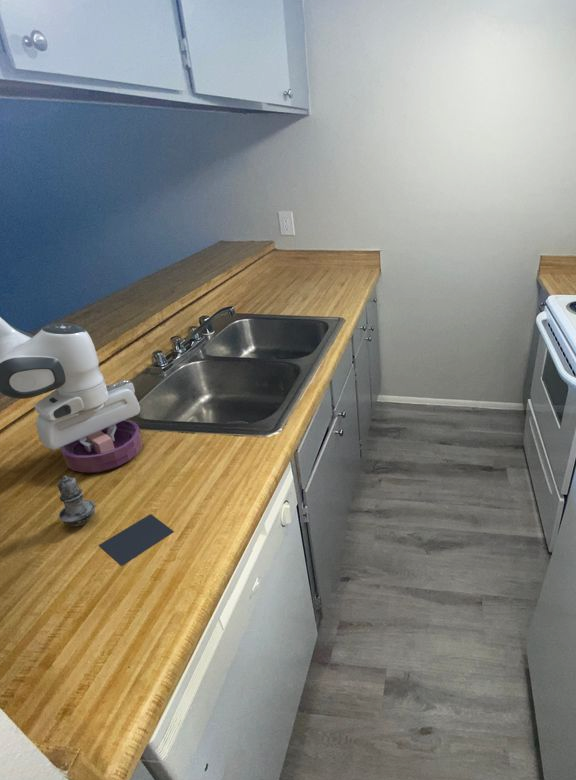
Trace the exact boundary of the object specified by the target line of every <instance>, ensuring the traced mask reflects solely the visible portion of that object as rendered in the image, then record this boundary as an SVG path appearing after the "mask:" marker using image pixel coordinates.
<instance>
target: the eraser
mask: <svg viewBox="0 0 576 780" xmlns="http://www.w3.org/2000/svg"><path fill="white" fill-rule="evenodd" d="M86 438H87V442H89V441H91V442H92V443H94V446H95V450H94V451H95V452H97V453H98V454H101V453H104V452H108V451H111V450H114V449H115V448H114V444H113V441H112V438H110V437H109V436H107V435H106V434H104V433H103V432H101V431H98V432H95V433H93V434H91V435H88V436H86Z"/></svg>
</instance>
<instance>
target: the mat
mask: <svg viewBox="0 0 576 780" xmlns="http://www.w3.org/2000/svg"><path fill="white" fill-rule="evenodd" d="M173 533H175V531H174V530H173V529H172V528H171V527H169V526H168V525H166V524H165V523H163V521H161V520H159V518H157V517H156V516H154V515H153V514H152V513H150V514H148V515H146V516H145V517H143V518H141V519H139V520H138V521H136V522H135V523H133V524H131V525H130V526H128V527H126V528H124V529H123V530H121V531H119V532H118V533H115V535H113V536H112V537H109V538H108V539H107V540H105V541H103V542H101V543H100V544H98V547H99V548H100V549H101V550H102V551H104V552H105V553H106V554H107V555H108V556H109V557H110V558H112V559H113V560H114V561H115V562H116V563H117V564H118V565H119V566H120V567H123V566H124V565H127V564H128V563H130V562H131V561H133V560H134V559H135V558H137V557H138V556H141V554H143V553H144V552H146V551H147V550H149V549H151V548H152V547H153V546H155V545H157V544H158V543H159V542H161V541H163V540H165V539H166V538H167V537H169V536H171V535H172V534H173Z"/></svg>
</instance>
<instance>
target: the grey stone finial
mask: <svg viewBox="0 0 576 780" xmlns="http://www.w3.org/2000/svg"><path fill="white" fill-rule="evenodd" d="M57 488H58V491H59V494H60V496H59V500H60V501H61V502H63V505H64V507H63V508H62V509H61V510H60V511H59V513H58V519H59V520H60V521H61V522H63V523H64V524H65V525H67V526H69V527H83V526H85V525H86V524H88V522H89V521H90V520H92V519H93V517H94V515H95V510H96V503H95V501H93V500H91V499H84V497H83V494H84V491H83V489H82V488H80V487H79V484H78V481H77V479H76V478H75V477H73V476H67V475H65V474H64V475H62V478H61V479H60V480H59V481H58V483H57Z"/></svg>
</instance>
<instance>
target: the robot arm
mask: <svg viewBox="0 0 576 780" xmlns="http://www.w3.org/2000/svg"><path fill="white" fill-rule="evenodd" d="M99 365H100V360H99V356H98V353H97V350H96V346H95V344H94V342H93V340H92V337H91V335H90V334H89V332H88V331H87V330H86V329H85V328H83V327H81V326H80V325H78V324H73V323H65V322H60V323H59V322H57V323H51V324H47V325H44V326H43V327H41V329H40V330H39V331H38V332H37V333H36V334H35V335H34V334H31V333H29V332H27V331H25V330H21V329H20V328H17V327H15V326H13V325H12V324H10V323H9V322H8V321H7V320H5V318H3V317H2V316H1V315H0V394H2V395H3V396H6V397H8V398H12V399H17V400H26V399H31V398H35V397H38V396H41V395H44V394H47V393H49V392H50V393H49V394H47V395H46V396H45V397H43V398H42V399H40V400H39V401H37V402H36V403H35V404H34V409H35V412H37V413H38V415H37V418H36V423H35V425H36V431H37V434H38V438H39V441H40V444H41V445H42V446H43V447H45V448H46V449H48V450H51V451H56V450H58V449H60V447H62V446H65V445H67V444H70V443H72V442H74V441H79V442H80V443H82V444H83V445H84V446H85V449H86V450H87V451H88V452H91V451H93V450H95V446H94V443H92V442H91V441H89V442H85V441H86V440H87V438H86V436H88V435H91V434H93V433H95V432H98V431H100V430H103V429H105V428H107V427H108V431H107V434H106V435H107V436H109V437H110V438H112V441H115V439H114V433H115V431H116V428H117V427H116V424H117V423H119V422H121V421H124V420H126V419H127V420H130V418H133V417H135V416H138V415H139V414H140V412H141V406H140V403H139V401H138V398H137V396H136V394H135V393H136V391H135V385H134V383H133V382H132V381H130V380H125V379H123V380H120V381H118V382H115V383H111V384H108V385H107V384H106V379H105V376H104V374H103V373H102V372H101V370H100V367H99Z"/></svg>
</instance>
